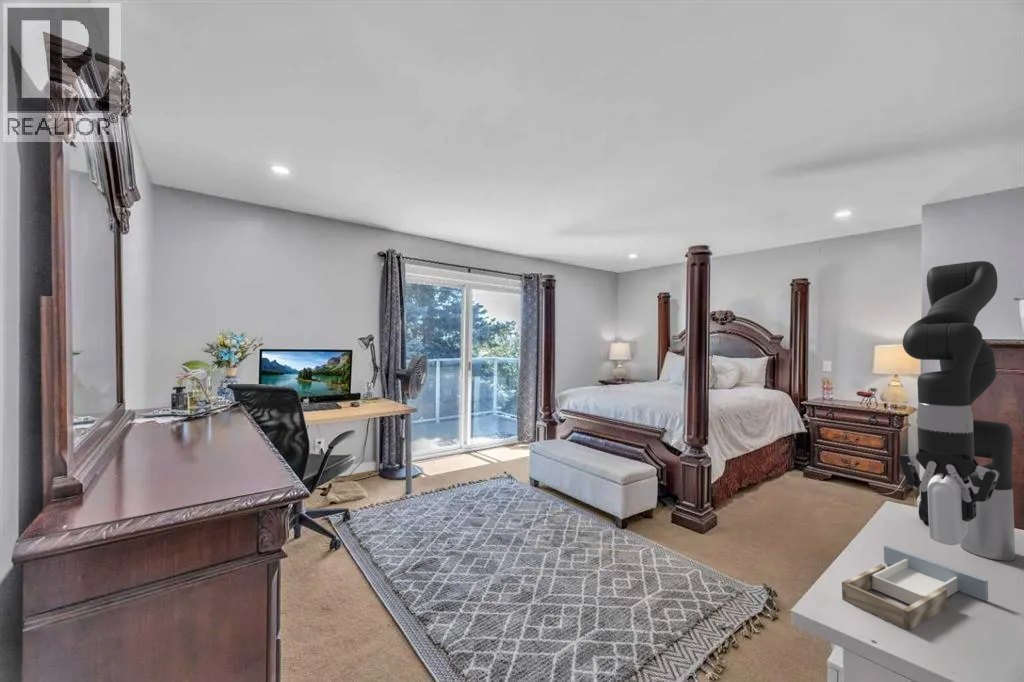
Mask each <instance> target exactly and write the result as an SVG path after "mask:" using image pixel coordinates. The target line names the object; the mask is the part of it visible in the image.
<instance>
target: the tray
mask: <svg viewBox="0 0 1024 682" xmlns="http://www.w3.org/2000/svg"><path fill="white" fill-rule="evenodd" d="M883 560H884V561H883V562H884V564H886V565H889V566H887V567H885V569H883V570H881V571H879V572H877V573H875V574H873V575H871V577H872V589H873V590H875V591H877V592H880V593H883V594H884V595H887V596H889V597H892V598H894V599H896V600H899V601H901V602H903V603H906V604H907V605H909V606H910V605H912V604H913V603H915V602H917V601H919V600H920V599H922V598H924V597H926V596H927V595H929V594H931V593H932V592H934V591H936V590H938V589H939V588H941V587H942V588H945V589H947V598H948V597H949V596H952V595H953V594H955V593H957V592H961V593H964V594H967V595H969V596H972V597H975V598H978V599H980V600H983V601H986V602H987V601H988V600H989V583H988V579H986V578H984V577H980V576H978V575H974V574H971V573H968V572H966V571H963V570H960V569H957V568H955V567H951V566H948V565H945V564H943V563H939V562H937V561H934V560H931V559H928V558H925V557H922V556H919V555H917V554H913V553H910V552H907V551H905V550H901V549H899V548H896V547H892V546H891V545H888V544H886V545H884V546H883Z"/></svg>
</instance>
